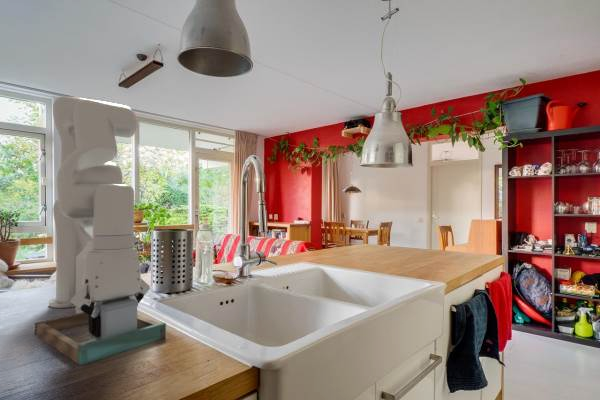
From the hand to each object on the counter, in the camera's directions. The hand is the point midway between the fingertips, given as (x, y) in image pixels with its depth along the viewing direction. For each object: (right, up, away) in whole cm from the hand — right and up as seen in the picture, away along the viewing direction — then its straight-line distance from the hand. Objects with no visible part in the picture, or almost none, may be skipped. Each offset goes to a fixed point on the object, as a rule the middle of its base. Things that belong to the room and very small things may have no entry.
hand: (112, 329), depth 71 cm
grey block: (0, -1, 0) cm, 1 cm away
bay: (-5, -3, +4) cm, 7 cm away
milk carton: (-16, -3, +22) cm, 27 cm away
